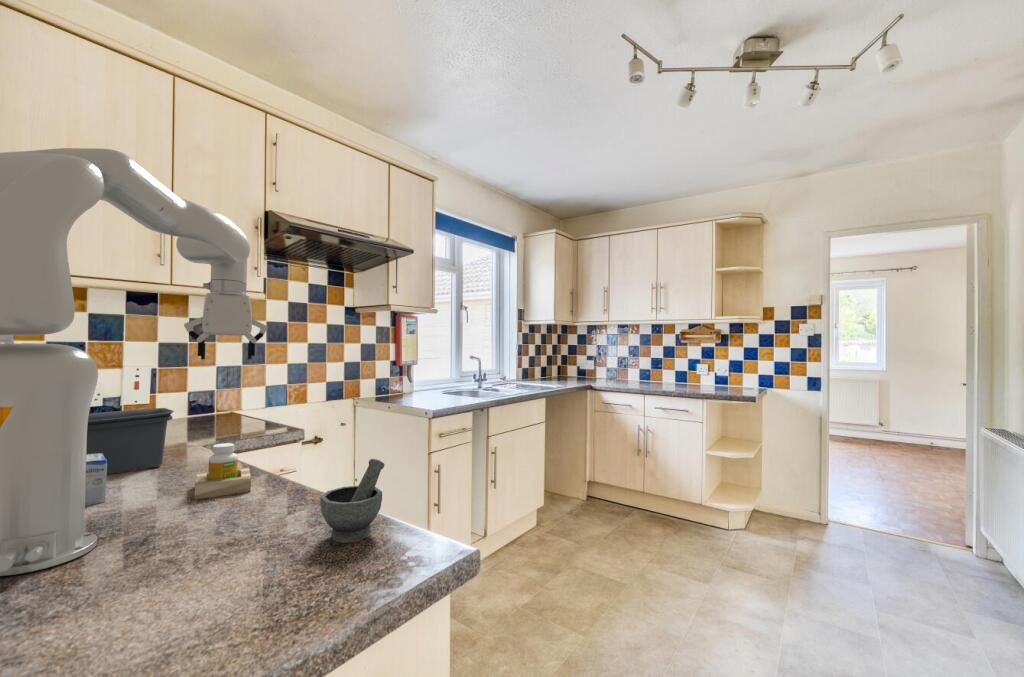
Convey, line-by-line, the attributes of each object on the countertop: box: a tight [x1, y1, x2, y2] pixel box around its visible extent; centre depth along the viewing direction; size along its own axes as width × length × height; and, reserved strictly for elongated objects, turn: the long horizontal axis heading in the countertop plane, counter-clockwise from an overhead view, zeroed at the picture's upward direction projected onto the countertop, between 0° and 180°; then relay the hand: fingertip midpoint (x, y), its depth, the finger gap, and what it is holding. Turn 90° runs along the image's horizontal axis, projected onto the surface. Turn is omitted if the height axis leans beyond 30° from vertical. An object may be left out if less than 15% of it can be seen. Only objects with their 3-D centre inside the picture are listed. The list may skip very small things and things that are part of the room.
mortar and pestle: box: [320, 458, 386, 544], centre depth 77 cm, size 11×9×12 cm
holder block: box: [194, 466, 252, 500], centre depth 100 cm, size 10×10×3 cm
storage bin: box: [86, 407, 175, 476], centre depth 114 cm, size 21×16×14 cm
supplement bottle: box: [208, 442, 239, 481], centre depth 100 cm, size 5×5×10 cm
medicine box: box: [85, 453, 108, 507], centre depth 92 cm, size 8×4×9 cm, turn 47°
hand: (226, 359), depth 111 cm, fingers open, 9 cm apart
